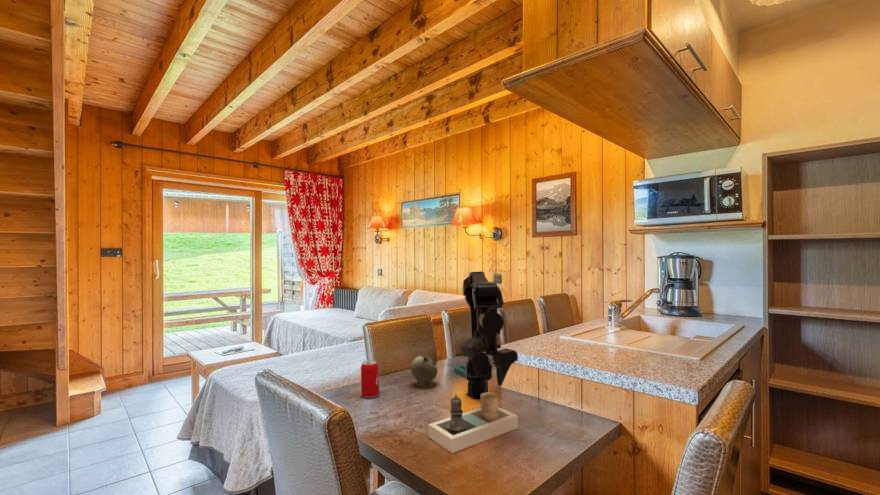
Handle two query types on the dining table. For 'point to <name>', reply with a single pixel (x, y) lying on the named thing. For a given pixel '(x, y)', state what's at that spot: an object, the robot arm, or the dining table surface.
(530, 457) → the dining table surface
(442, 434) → the housing
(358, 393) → the dining table surface
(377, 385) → the beverage can
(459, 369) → the bracket
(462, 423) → the salt shaker
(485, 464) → the dining table surface
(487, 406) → the wooden peg
